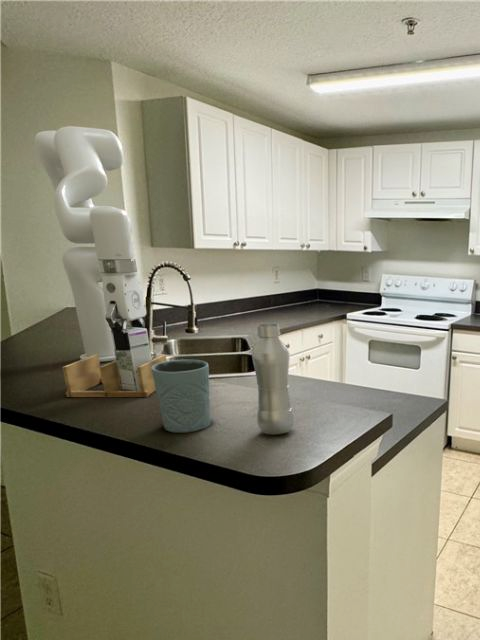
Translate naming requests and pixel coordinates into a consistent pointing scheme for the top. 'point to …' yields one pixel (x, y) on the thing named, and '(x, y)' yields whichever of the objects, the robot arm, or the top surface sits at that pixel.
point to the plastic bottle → (272, 381)
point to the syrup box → (132, 358)
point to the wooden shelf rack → (106, 378)
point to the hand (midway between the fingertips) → (131, 346)
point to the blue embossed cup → (183, 394)
